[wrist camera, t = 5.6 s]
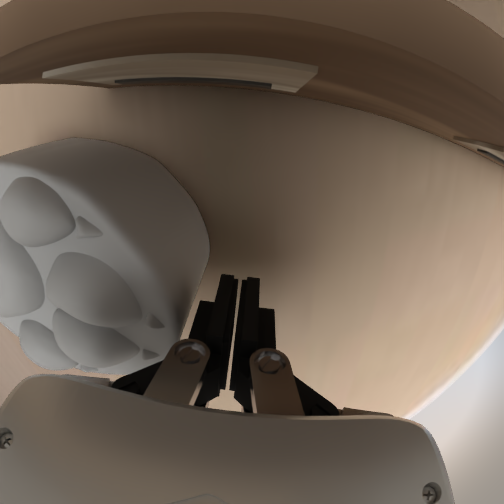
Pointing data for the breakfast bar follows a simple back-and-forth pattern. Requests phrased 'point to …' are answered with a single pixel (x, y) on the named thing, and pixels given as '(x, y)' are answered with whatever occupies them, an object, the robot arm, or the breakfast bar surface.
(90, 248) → the lumpy-topped squat cylinder
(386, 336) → the breakfast bar surface
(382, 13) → the wooden panel
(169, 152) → the breakfast bar surface
